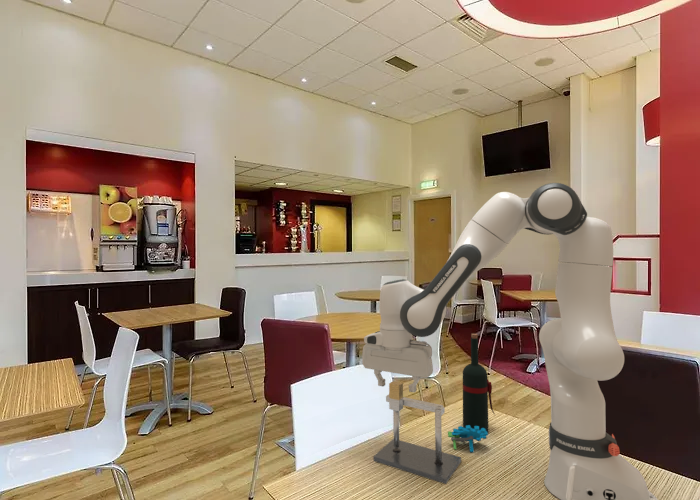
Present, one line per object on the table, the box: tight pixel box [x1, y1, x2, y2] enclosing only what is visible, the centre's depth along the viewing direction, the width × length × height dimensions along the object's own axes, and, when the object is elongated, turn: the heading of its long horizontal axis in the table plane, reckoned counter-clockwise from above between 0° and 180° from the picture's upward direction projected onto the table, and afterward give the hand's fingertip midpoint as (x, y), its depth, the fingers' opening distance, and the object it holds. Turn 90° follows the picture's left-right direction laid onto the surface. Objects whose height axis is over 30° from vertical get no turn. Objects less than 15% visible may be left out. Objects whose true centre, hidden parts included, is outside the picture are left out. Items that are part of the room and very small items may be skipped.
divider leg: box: [388, 380, 404, 449], centre depth 108 cm, size 3×2×18 cm
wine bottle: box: [462, 333, 496, 433], centre depth 124 cm, size 8×10×30 cm
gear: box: [447, 425, 489, 453], centre depth 112 cm, size 11×6×10 cm
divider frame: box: [385, 394, 446, 465], centre depth 107 cm, size 17×4×14 cm, turn 57°
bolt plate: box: [373, 438, 462, 485], centre depth 105 cm, size 20×12×1 cm, turn 57°
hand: (396, 388), depth 108 cm, fingers open, 8 cm apart
